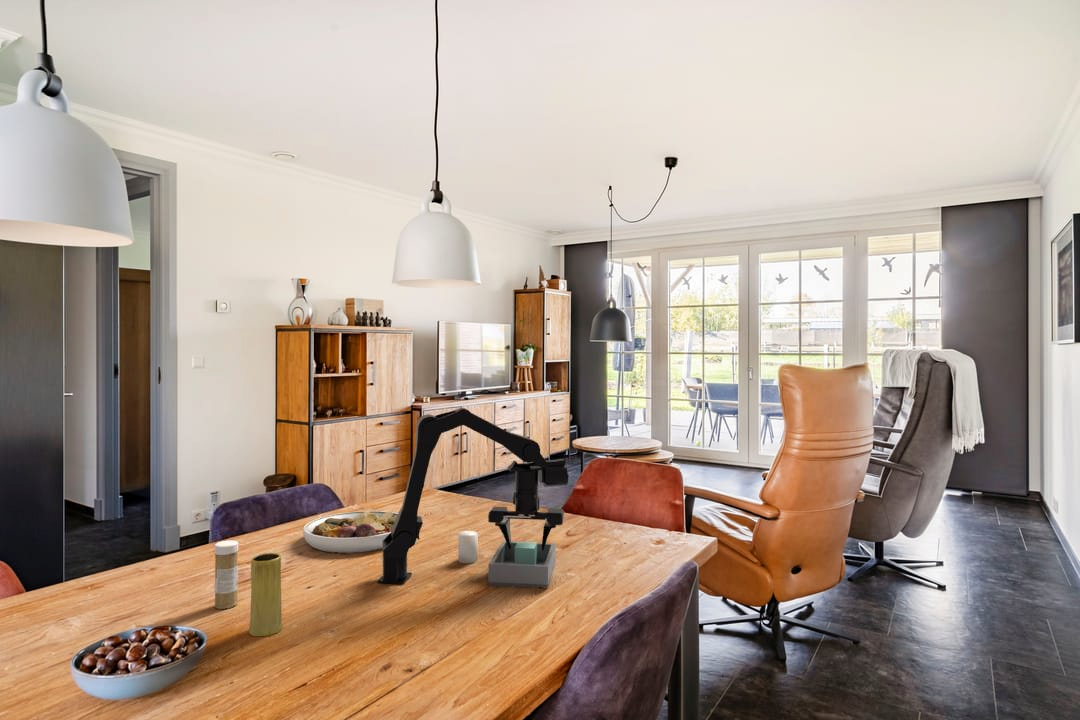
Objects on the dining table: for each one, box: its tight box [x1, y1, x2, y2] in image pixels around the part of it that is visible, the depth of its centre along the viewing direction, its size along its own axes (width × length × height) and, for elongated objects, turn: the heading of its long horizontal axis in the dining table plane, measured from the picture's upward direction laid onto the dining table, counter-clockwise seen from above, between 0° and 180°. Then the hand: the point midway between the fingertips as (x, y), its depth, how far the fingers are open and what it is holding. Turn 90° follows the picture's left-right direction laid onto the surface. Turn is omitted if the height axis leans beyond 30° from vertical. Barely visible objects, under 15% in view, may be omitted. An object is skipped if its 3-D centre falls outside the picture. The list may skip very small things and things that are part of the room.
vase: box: [248, 552, 284, 637], centre depth 120 cm, size 6×6×14 cm
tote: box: [487, 540, 557, 588], centre depth 153 cm, size 18×14×5 cm
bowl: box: [302, 510, 399, 554], centre depth 181 cm, size 30×30×8 cm
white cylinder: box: [457, 530, 479, 564], centre depth 163 cm, size 5×5×7 cm
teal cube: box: [515, 541, 538, 565], centre depth 157 cm, size 5×5×5 cm
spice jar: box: [213, 539, 239, 610], centre depth 132 cm, size 5×5×14 cm
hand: (526, 549), depth 157 cm, fingers open, 8 cm apart
